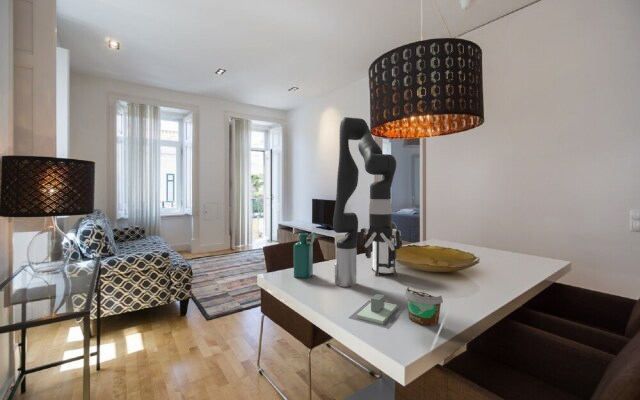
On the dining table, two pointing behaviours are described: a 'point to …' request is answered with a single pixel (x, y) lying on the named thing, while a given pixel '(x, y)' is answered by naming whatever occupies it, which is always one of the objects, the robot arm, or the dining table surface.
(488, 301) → the dining table surface
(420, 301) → the food container
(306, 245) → the green bottle
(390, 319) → the mat
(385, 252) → the coffee press
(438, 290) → the dining table surface
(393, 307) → the lid
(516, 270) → the dining table surface
